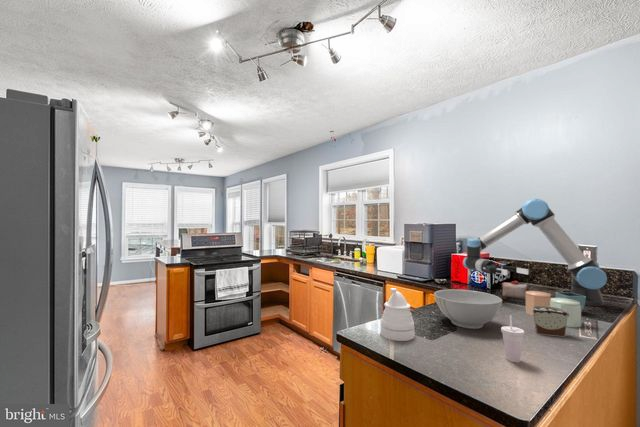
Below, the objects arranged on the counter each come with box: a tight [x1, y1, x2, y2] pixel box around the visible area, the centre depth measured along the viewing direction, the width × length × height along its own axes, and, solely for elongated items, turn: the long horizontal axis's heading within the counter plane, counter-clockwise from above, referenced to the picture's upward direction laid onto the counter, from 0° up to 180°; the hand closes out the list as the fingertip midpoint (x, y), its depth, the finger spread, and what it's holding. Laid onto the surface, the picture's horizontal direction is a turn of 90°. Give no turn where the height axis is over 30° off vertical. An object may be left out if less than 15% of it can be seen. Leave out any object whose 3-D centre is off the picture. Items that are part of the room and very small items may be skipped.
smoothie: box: [500, 315, 525, 363], centre depth 97 cm, size 6×6×14 cm
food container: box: [531, 306, 569, 338], centre depth 121 cm, size 12×6×10 cm, turn 71°
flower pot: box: [555, 291, 586, 313], centre depth 150 cm, size 9×9×9 cm
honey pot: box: [380, 287, 415, 342], centre depth 119 cm, size 13×13×18 cm
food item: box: [501, 280, 530, 301], centre depth 180 cm, size 14×8×10 cm, turn 47°
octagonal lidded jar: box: [525, 290, 553, 316], centre depth 147 cm, size 10×10×10 cm
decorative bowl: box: [433, 288, 503, 330], centre depth 132 cm, size 27×27×12 cm
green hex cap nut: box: [550, 297, 582, 328], centre depth 133 cm, size 10×10×10 cm
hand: (517, 272), depth 158 cm, fingers open, 13 cm apart
